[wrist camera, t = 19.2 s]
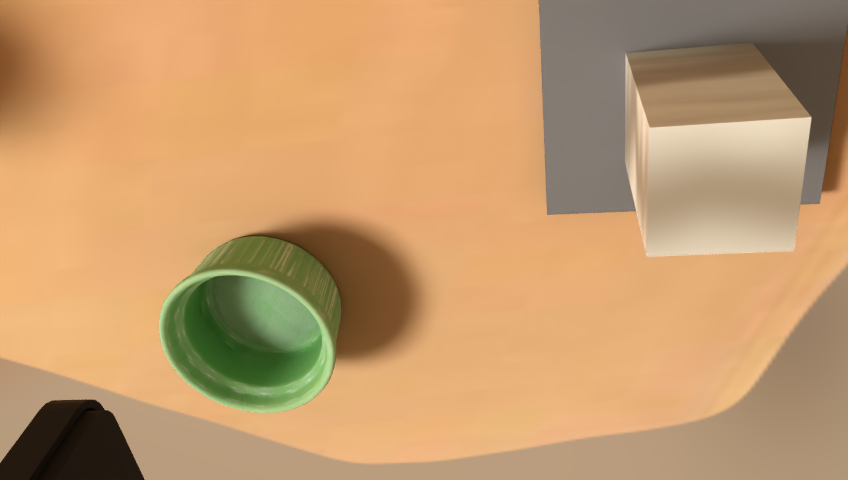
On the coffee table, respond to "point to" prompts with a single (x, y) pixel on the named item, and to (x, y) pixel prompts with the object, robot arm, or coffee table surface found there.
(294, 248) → the ramekin
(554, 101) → the charcoal mat
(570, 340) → the coffee table surface
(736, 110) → the beige block
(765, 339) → the coffee table surface
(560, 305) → the coffee table surface
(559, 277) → the coffee table surface
